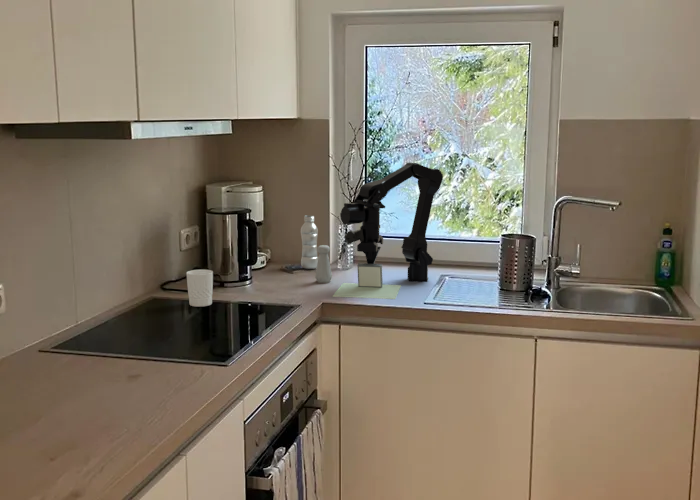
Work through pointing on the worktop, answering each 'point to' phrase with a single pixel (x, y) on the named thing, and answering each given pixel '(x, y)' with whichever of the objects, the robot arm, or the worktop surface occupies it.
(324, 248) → the salt shaker
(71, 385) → the worktop surface
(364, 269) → the slate tile
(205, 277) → the white cup
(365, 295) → the trivet mat
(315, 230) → the plastic bottle
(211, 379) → the worktop surface
